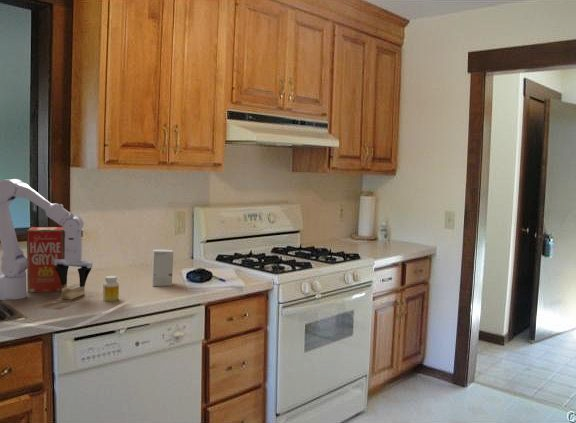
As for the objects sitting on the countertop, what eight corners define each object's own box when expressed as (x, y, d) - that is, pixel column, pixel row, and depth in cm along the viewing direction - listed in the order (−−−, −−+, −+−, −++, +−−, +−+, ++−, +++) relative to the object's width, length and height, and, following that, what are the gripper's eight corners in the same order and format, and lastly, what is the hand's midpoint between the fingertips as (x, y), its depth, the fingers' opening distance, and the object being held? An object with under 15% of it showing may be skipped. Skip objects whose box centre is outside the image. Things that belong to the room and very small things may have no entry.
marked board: (31, 309, 184) (31, 306, 184) (67, 295, 203) (67, 292, 203) (60, 312, 181) (60, 309, 181) (93, 298, 201) (93, 295, 201)
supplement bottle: (100, 302, 196) (100, 276, 195) (113, 299, 200) (114, 274, 199) (107, 305, 192) (107, 279, 191) (121, 302, 196) (121, 277, 195)
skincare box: (152, 286, 222) (152, 251, 220) (151, 283, 228) (152, 249, 226) (173, 285, 224) (173, 251, 223) (171, 282, 230) (172, 248, 229)
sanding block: (61, 299, 194) (61, 288, 194) (75, 294, 202) (75, 283, 201) (71, 300, 193) (71, 289, 193) (84, 295, 201) (84, 284, 200)
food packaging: (26, 294, 202) (25, 229, 200) (31, 289, 211) (30, 226, 209) (64, 293, 206) (64, 229, 203) (67, 288, 215) (67, 226, 212)
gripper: (48, 249, 193) (48, 286, 195) (84, 252, 190) (84, 289, 192) (61, 246, 200) (61, 282, 202) (95, 249, 197) (95, 285, 198)
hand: (73, 285), depth 197 cm, fingers open, 7 cm apart
